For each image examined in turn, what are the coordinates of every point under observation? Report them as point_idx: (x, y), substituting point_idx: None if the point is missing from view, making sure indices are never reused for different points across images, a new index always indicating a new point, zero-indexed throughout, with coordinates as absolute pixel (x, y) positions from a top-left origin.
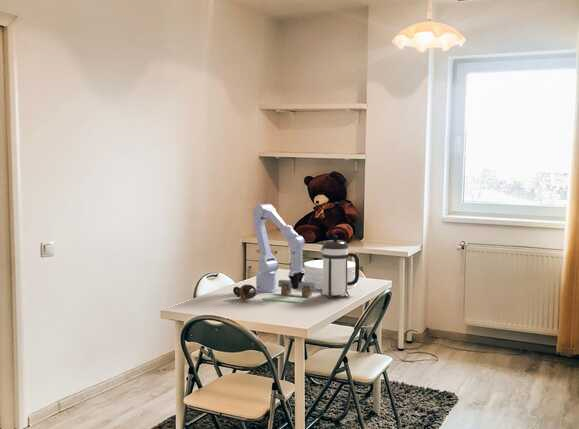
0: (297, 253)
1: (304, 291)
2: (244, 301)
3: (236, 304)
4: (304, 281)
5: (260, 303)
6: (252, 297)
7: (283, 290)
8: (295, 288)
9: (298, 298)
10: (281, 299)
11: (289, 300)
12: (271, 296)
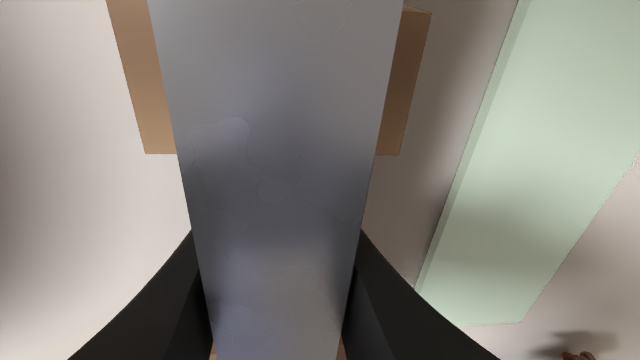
0: None
1: None
2: (570, 353)
3: (627, 351)
4: (190, 219)
5: (632, 283)
6: (591, 355)
7: None
8: None
9: (544, 75)
10: (575, 213)
11: (637, 135)
12: (455, 305)
